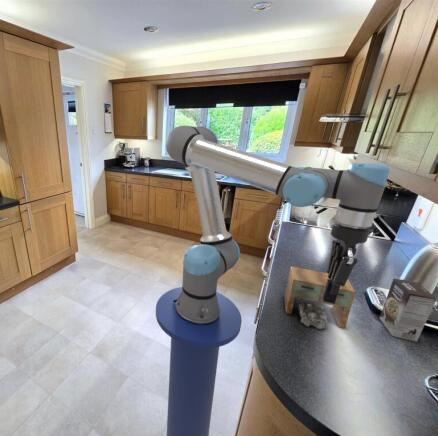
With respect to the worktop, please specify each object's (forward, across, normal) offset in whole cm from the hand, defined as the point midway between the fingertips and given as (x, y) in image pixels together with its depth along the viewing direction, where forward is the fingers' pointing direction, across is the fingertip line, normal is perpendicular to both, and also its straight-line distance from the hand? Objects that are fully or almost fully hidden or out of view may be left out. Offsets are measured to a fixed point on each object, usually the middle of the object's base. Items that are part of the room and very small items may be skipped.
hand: (328, 300), depth 70 cm
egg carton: (+15, +11, 0) cm, 19 cm away
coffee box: (+15, +17, -25) cm, 34 cm away
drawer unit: (+15, +15, -1) cm, 21 cm away
